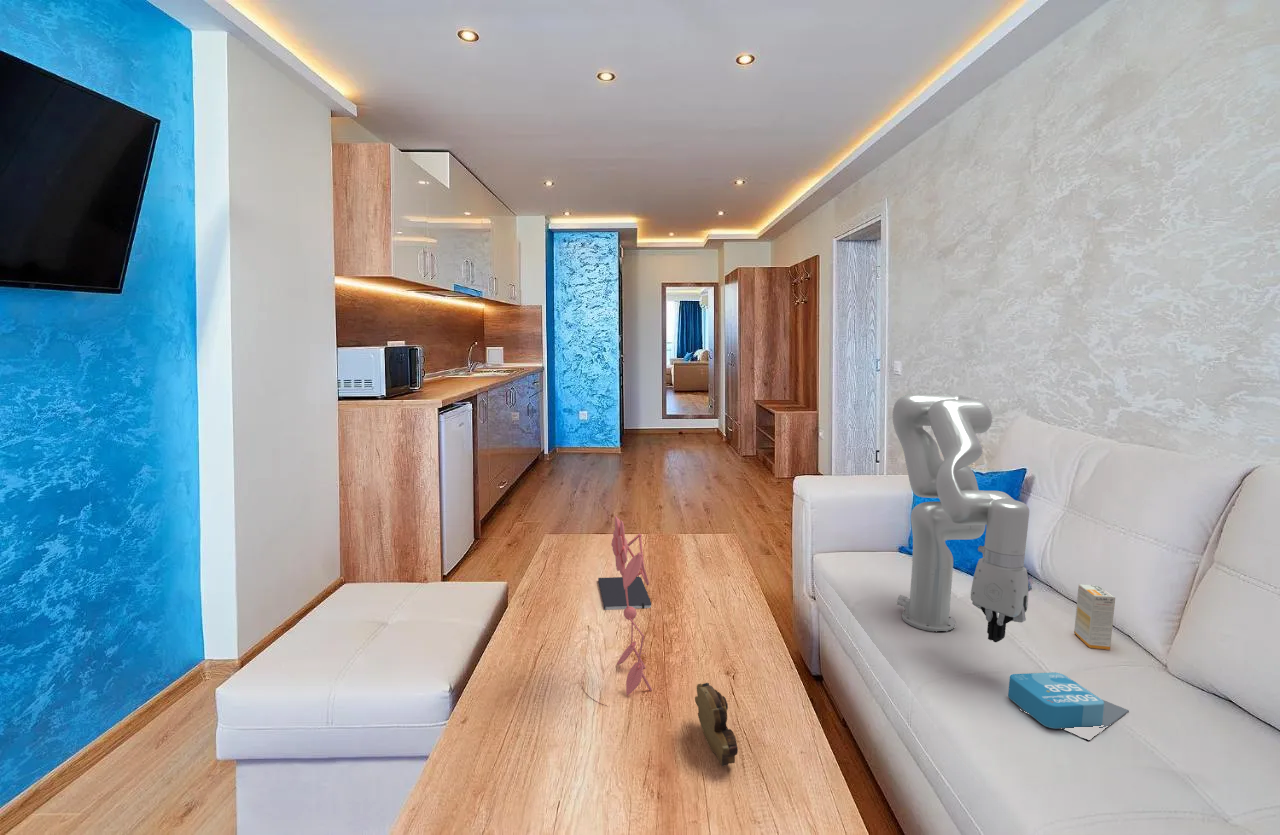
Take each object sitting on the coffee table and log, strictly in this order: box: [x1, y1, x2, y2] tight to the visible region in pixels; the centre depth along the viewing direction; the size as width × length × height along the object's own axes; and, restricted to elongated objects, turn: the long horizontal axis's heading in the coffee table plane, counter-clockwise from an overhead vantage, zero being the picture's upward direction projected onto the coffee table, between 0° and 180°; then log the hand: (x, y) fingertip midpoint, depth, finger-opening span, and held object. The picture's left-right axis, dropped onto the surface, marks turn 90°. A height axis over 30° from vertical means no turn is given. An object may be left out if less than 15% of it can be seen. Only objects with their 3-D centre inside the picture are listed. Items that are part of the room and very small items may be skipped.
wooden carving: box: [694, 682, 739, 767], centre depth 112 cm, size 16×5×10 cm, turn 17°
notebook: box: [597, 576, 652, 611], centre depth 182 cm, size 13×2×21 cm
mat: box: [1019, 699, 1130, 730], centre depth 126 cm, size 12×18×1 cm, turn 124°
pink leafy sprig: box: [581, 515, 653, 708], centre depth 132 cm, size 15×26×35 cm, turn 8°
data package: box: [1007, 672, 1104, 729], centre depth 126 cm, size 12×4×12 cm
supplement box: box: [1073, 583, 1116, 651], centre depth 156 cm, size 8×5×13 cm, turn 168°
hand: (995, 639), depth 139 cm, fingers closed
